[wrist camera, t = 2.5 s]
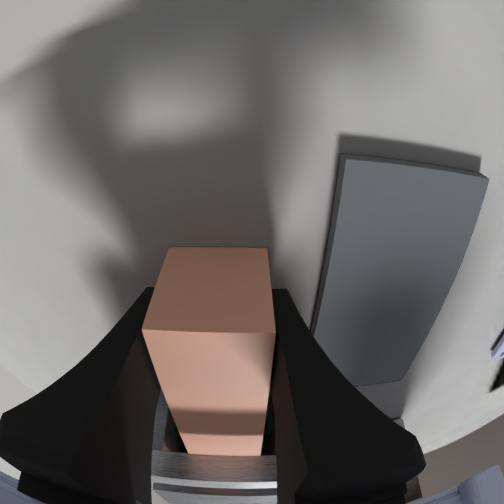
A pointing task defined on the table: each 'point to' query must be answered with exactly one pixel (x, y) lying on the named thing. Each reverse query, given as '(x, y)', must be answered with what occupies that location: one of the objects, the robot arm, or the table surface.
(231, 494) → the dispenser
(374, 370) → the pad
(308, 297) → the table surface
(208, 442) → the salmon rectangular block
